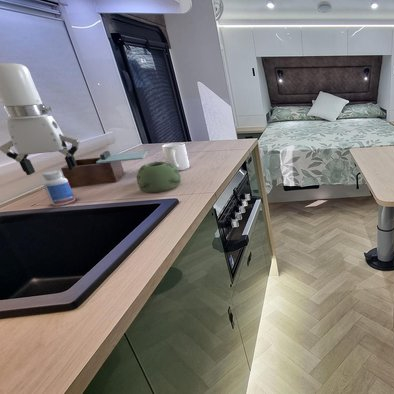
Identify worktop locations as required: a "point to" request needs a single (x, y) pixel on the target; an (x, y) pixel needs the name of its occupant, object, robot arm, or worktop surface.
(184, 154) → the mug
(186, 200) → the worktop surface
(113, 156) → the sliding box lid
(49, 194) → the pill bottle
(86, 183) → the box
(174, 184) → the green planter pot
